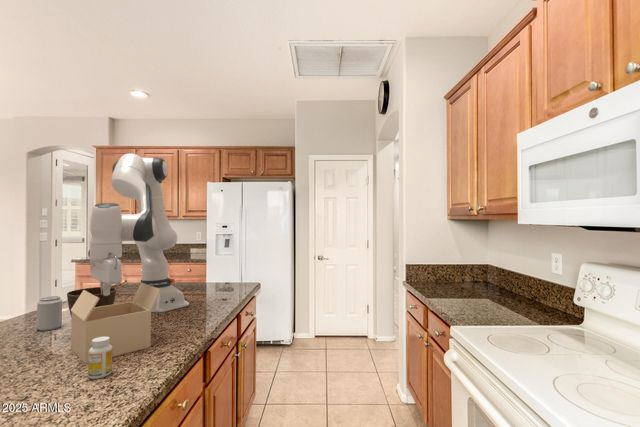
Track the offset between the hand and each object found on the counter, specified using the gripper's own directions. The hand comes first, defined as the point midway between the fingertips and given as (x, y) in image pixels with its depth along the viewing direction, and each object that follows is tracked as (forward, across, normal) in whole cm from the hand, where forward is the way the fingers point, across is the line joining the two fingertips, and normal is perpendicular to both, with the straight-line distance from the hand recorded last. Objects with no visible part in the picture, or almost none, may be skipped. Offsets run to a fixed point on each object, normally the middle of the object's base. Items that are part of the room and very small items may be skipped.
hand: (105, 295), depth 108 cm
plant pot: (+18, +19, -1) cm, 26 cm away
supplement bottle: (+18, -20, +6) cm, 27 cm away
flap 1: (+2, 0, +5) cm, 6 cm away
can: (+18, +40, +8) cm, 45 cm away
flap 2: (+2, 0, -12) cm, 12 cm away
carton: (+17, 0, -2) cm, 18 cm away
